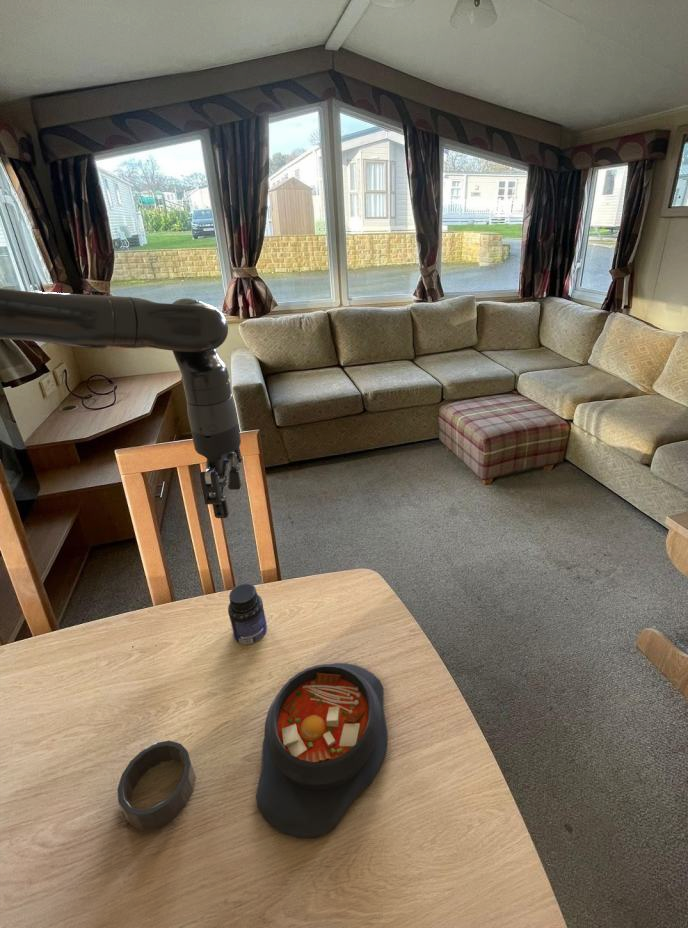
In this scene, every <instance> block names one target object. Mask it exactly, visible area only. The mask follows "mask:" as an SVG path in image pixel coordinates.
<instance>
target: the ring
mask: <svg viewBox="0 0 688 928" xmlns="http://www.w3.org/2000/svg"><path fill="white" fill-rule="evenodd" d="M170 761H171V762H172V761H174V762H177V763H181V764H182V765H183V766H184V769H183V774H182V777H181V780H180V781H179V783H178V785H177V787H176V789H174V791H173V792H172V793H171V794H170V795H169V796H168V797H167V798H166V799H164V800H163V801H162V802H160V803H158V804H156V805H155V806H152V807H147V808H141V809H140V808H137V807H133V806H131V801H132V796H133V792H134V790H135V788H136V786H137V785H138V783H139V781H140V780H141V779H142V777H143V776H145V774H146V773H147V772H148V771H150V769H152V768H154V767H155V766H156V767H157V765H160V764H161V763H166V762H170ZM195 783H196V773H195V768H194V765H193V762H192V759H191V755H190V752H189V750H188V749H186V747H185V746H183V744H182V743H180V742H176V741H173V740H166V741H165V740H164V741H159V742H155V743H153V744H151V745H149V746H147V747H145V748H143V749H142V750H141V751H139V753H138V754H136V755H135V756H134V757H133V758H132V759H131V760H130V761H129V763H128V765H126V767H125V769H124V770H123V772H122V773H121V776H120V779H119V782H118V786H117V797H118V798H117V800H118V805H119V806H120V808H121V810H122V813H123V815H124V817H125V819H126V820H127V822H128V823H129V824H130V826H131V827H132V828H135V829H138V830H140V831H150V830H156V829H159V828H161V827H163V826H165V825H166V824H168V823H171V821H173V820H174V819H176V818H177V816H178V815H179V814H180V813H181V812H182V811H183V810H184V809H185V808H186V806H187V804H188V802H189V800H190V799H191V797H192V795H193V793H194V789H195Z"/></svg>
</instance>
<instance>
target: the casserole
mask: <svg viewBox="0 0 688 928" xmlns="http://www.w3.org/2000/svg"><path fill="white" fill-rule="evenodd" d="M384 690H385V689H384V686H383V684H382V682H381V680H380V678H378V677H377V676H376V675H375V674H374V673H373V672H371V671H369V669H366V668H364V667H363V666H362V667H361V666H359V665H356V664H351V663H347V662H335V663H323V664H316V665H314V666H310V667H308V668H305V669H303V670H302V671H300V672H298V673H296V674H295V675H294V676H292V677H291V678H290V679H289V680H287V681H286V683H285V684H284V685H283V686H282V687H281V688H280V690H279V691H278V693H277V694H276V696H275V697H274V699H273V700H272V701H271V704H270V706H269V709H268V710H267V713H266V718H265V722H264V733H263V735H264V736H263V741H262V754H261V756H262V757H261V771H260V776H259V780H258V784H257V789H256V795H255V798H256V805H257V809H258V810H259V812H260V814H261V815H262V817H263V819H264V820H266V822H267V823H268V824H269V825H271V826H272V828H274V829H276V830H278V831H279V832H281V833H283V834H284V835H288V836H292V837H296V838H302V839H303V838H305V839H314V838H317V837H322V836H323V837H324V836H325V835H326V834H328V833H329V832H331V831H333V830H334V829H335V828H336V826H337V825H338V824H339V822H340V821H341V820H342V818H343V817H344V815H345V814H346V812H347V811H348V809H349V808H350V807H351V805H352V803H353V802H354V801H355V800H357V798H359V796H361V794H362V793H363V792H364V791H365V790H366V789H367V788H368V787H370V785H371V784H372V783H373V782H374V779H376V777H377V775H378V774H379V772H380V770H381V768H382V765H383V763H384V761H385V758H386V753H387V749H388V740H389V739H388V736H389V735H388V734H389V733H388V732H389V731H388V725H387V720H386V715H385V710H384Z"/></svg>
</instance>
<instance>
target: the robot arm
mask: <svg viewBox="0 0 688 928" xmlns="http://www.w3.org/2000/svg"><path fill="white" fill-rule="evenodd" d="M228 333H229V325H228V322H227V319H226V317H225V316H224V314H223V313H222V312H221V311H220V310H219V309H218V308H216V307H214V306H213V305H210V304H208V303H204V302H202V301H200V300H199V299H194V298H187V297H186V298H185V297H184V298H180V299H177V300H175V301H174V302H172V303H165V302H164V303H163V302H155V301H151V300H148V299H145V298H140V297H133V296H131V297H130V296H119V295H104V294H102V295H101V294H83V293H64V292H63V293H61V292H60V293H59V292H58V293H57V292H42V291H29V290H28V291H27V290H19V289H18V290H17V289H8V288H0V340H15V341H30V342H39V343H46V344H54V345H59V346H66V347H74V348H86V349H103V350H104V349H105V350H107V349H157V350H164V351H172V353H173V356H174V359H175V361H176V363H177V366H178V368H179V371H180V374H181V379H182V385H183V386H182V387H183V391H184V396H185V401H186V411H187V412H186V413H187V419H188V423H189V426H190V427H189V428H190V433H191V438H192V442H193V447H194V450H195V452H196V453H197V454H198V455H200V456H201V457H204V458H206V461H205V470H206V471H200V473H199V479H200V484H201V485H200V486H201V489H202V490H201V491H202V495H203V500H204V504H205V506H206V505H212V510H213V514H214V517H215V518H216V519H227V518H228V517H229V515H230V513H229V509H228V502H227V498H226V497H227V496H226V495H227V494H226V493H227V489H229V490H230V491H231V490H232V491H236V490H237V491H238V490H240V489H241V487H242V483H241V477H240V469H241V466H240V463H242V460H243V458H242V454H241V448H240V447H241V443H242V439H241V432H240V427H239V420H238V414H237V407H236V405H235V400H234V397H233V393H232V387H231V381H230V374H229V370H228V368H227V366H226V364H225V363H224V361H223V360H222V359H221V358H220V356H219V354H218V352H217V349H219V347H220V346H222V345H223V344H224V342H226V339H227V337H228ZM220 480H222V481H220ZM227 487H228V488H227Z"/></svg>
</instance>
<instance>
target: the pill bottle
mask: <svg viewBox="0 0 688 928" xmlns="http://www.w3.org/2000/svg"><path fill="white" fill-rule="evenodd" d="M228 597H229V603H228V606H227V613H228V618H229V622H230V626H231V631H232V634H233V638H234V640H235V642H237V643H238V644H240V645H243V646H244V645H245V646H248V645H253V644H255V643H258V642H259V641H261V639H263V638H264V637H265V636H266V634H267V631H268V624H267V619H266V618H267V617H266V613H265V608H264V602H263V599H262V597H261V596H260V595H259V593H258V592H257V588H256V586H255V585H254V584H252V583H247V582H246V583H241V584H238V585H236V586H235V587H233V588H232V589H231V590H230V592H229V595H228Z"/></svg>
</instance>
